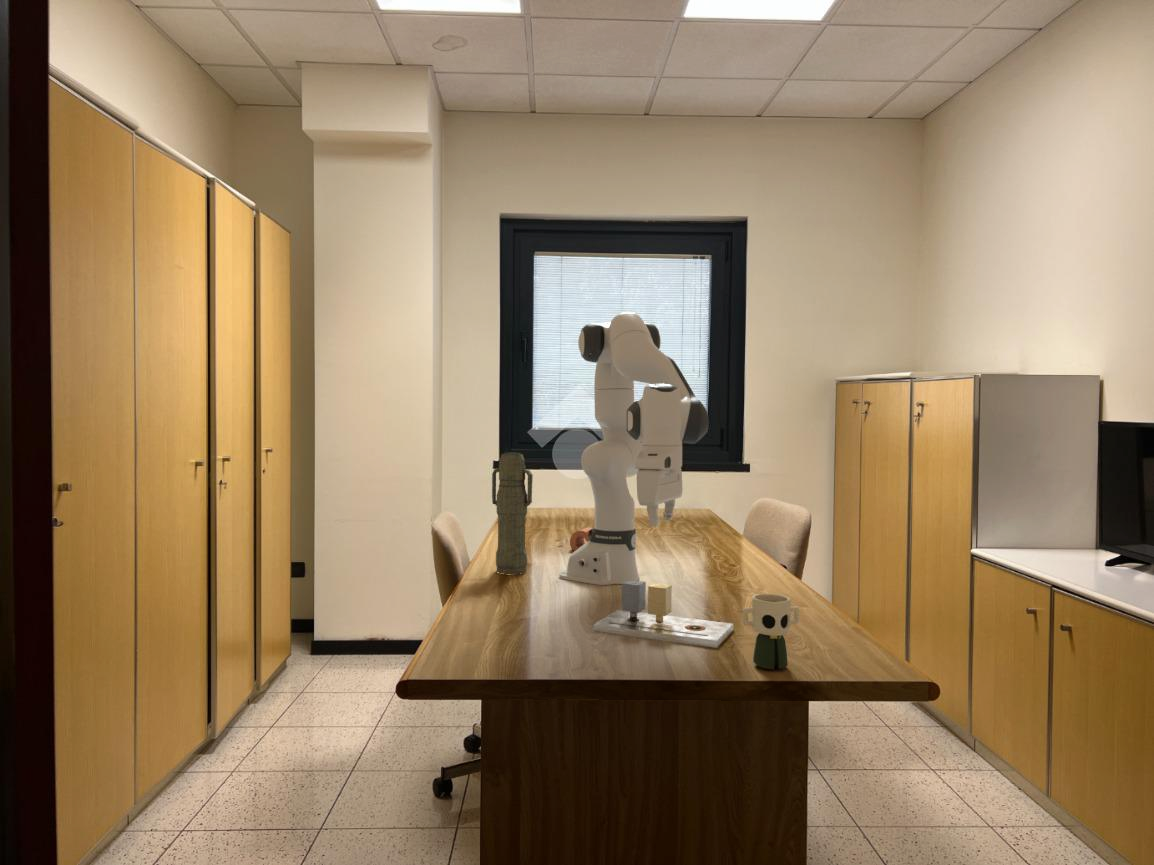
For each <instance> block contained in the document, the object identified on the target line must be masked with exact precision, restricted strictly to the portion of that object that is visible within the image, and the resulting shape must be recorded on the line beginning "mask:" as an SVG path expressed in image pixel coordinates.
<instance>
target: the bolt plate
mask: <svg viewBox="0 0 1154 865" xmlns="http://www.w3.org/2000/svg"><path fill="white" fill-rule="evenodd" d="M646 588H647V586H646V581H642V580H641V581H640V580H638V581H633V580H628V581H626V582H624V583H622V584H621V609H616V610H615V611H613V612H611V613H610V614H608V615H607V616H605V617H603V618H601V619H600V620H598V621H596V622H595V623H593V631H594V632H598V633H606V634H612V635H619V636H626V637H636V638H641V639H642V638H643V639H649V640H656V641H664V642H671V643H678V644H685V645H692V646H698V647H707V648H714V649H717V648H719V646H720V645H721V644H723V642H724V641H725V640H726V638H728V637H729V635H730V634H731V633H732V632H733V631H734V623H731V622H724V621H716V620H715V621H714V620H705V619H697V618H691V617H689V618H688V617H681V616H673V615H666V616H663V623H656V615H652V614H648V612H643V611H645V610H646V591H647V590H646Z"/></svg>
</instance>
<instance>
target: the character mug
mask: <svg viewBox="0 0 1154 865" xmlns="http://www.w3.org/2000/svg"><path fill="white" fill-rule="evenodd" d="M792 612H793V618H792V616H791V614H792ZM749 613H751V619H749ZM799 621H800V608H799V606H797V605H796V606H792V600H791V598H790V597H788V596H786V595H782V594H776V593H775V594H774V593H757V594H754V595H752V597H751V607H744V608H743V610H742V624H743V625H744V626H751V629H752V630H753V631H754V632H755V633H757V636H756V638H755V645H754V651H753V659H752V660H753V664H755V665H756V666H758V667H760V668H763V669H769V670H775V667H778V669H780V670H781V669H785V668H787V666H789V664H788V652H787V645H786V639H785V637H784V636H785V635H786V634H788V633H789V632H790V630H791V628H792V627H791V626H792V625H796V624H798V623H799Z"/></svg>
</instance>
